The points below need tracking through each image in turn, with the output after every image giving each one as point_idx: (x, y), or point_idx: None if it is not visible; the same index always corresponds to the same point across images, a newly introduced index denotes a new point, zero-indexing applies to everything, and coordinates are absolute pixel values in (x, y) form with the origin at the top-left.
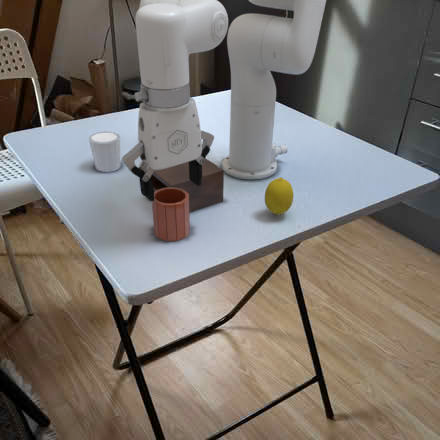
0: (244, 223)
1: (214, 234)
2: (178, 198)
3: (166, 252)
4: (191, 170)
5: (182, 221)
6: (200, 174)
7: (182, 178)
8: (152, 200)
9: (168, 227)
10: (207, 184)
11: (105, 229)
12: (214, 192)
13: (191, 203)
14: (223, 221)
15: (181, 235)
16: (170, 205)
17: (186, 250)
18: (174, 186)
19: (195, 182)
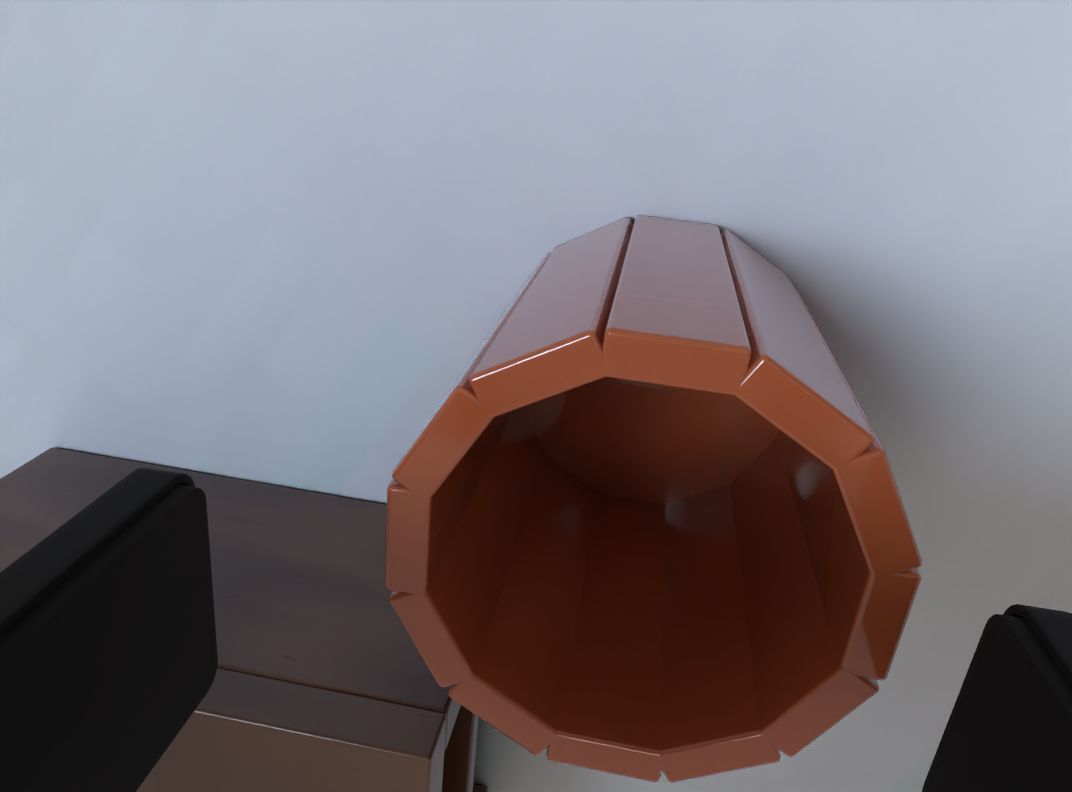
0: (48, 57)
1: (376, 86)
2: (478, 555)
3: (936, 130)
4: (104, 759)
5: (648, 259)
6: (23, 571)
7: (241, 777)
8: (1049, 609)
9: (799, 311)
10: None
11: None
12: (55, 515)
13: (306, 536)
14: (194, 212)
15: (671, 225)
16: (819, 391)
17: (765, 27)
18: (397, 730)
19: (193, 553)
